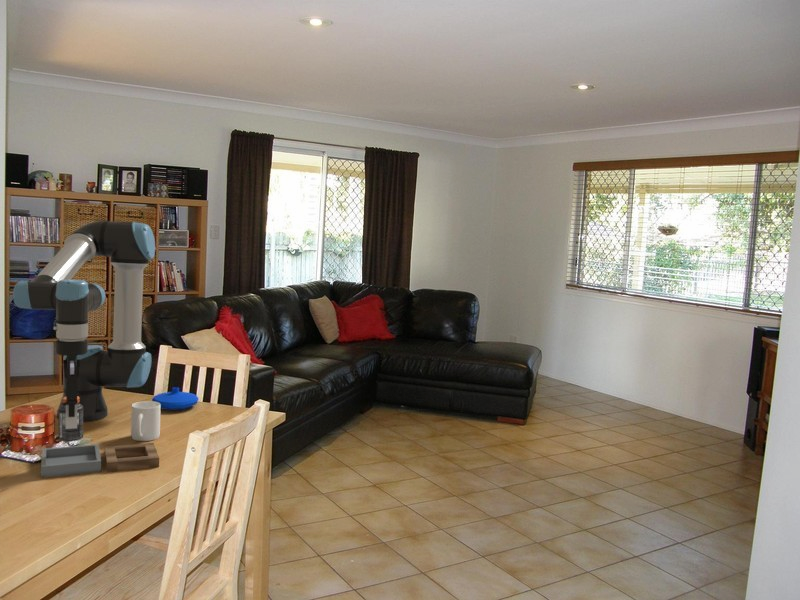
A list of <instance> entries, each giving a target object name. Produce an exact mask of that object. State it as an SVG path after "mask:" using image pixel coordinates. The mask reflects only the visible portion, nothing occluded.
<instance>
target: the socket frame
mask: <svg viewBox="0 0 800 600" xmlns="http://www.w3.org/2000/svg"><path fill="white" fill-rule="evenodd" d="M104 461H105V467H106V472H107V473H111V472H119V471H120V472H121V471H130V470H132V471H133V470H141V469H152V468H159V467H160V456H159V453H158V451H157V449H156V446H155V443H154V442H147V443H137V444H124V445H113V446H104Z"/></svg>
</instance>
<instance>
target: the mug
mask: <svg viewBox="0 0 800 600" xmlns="http://www.w3.org/2000/svg"><path fill="white" fill-rule="evenodd" d="M161 409H162V408H161V404H160V403H158V402H154V401H152V400H145V401H144V400H143V401H137V402H133V403H132V404H131V417H130V418H131V428H130V433H131V434H130V435H131V436H130V437H131V439H132V440H133V441H137V442H152V441H155V440H157V439H159V437H160V434H161V433H160V432H161Z"/></svg>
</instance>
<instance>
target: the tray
mask: <svg viewBox="0 0 800 600" xmlns="http://www.w3.org/2000/svg"><path fill="white" fill-rule="evenodd" d="M100 452H101V451H100V444H99V443H96V444H84V445H83V444H82V445H73V446H62V447H61V446H59V447H46V448H42V449H41V461H40V464H41V465H40V478H41V479H43V478H54V477H65V476H75V475H84V474H85V475H86V474H94V473H102V457H101V453H100Z"/></svg>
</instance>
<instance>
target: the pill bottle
mask: <svg viewBox="0 0 800 600" xmlns="http://www.w3.org/2000/svg"><path fill="white" fill-rule="evenodd" d="M66 400H67V397H64V398H63V403H66ZM77 400H78V402H77V428H73V429H66V405H63V404H62V405H61V406H60V407H59V406H58V407H59V419H58V440H60V441H61V442H68V443H69V442H70V443H71V442H76V441H79V440H81V439H83V438H84V422H83V406H82V405H81V404H79V401H80V400H79V397H78V396H77Z"/></svg>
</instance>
